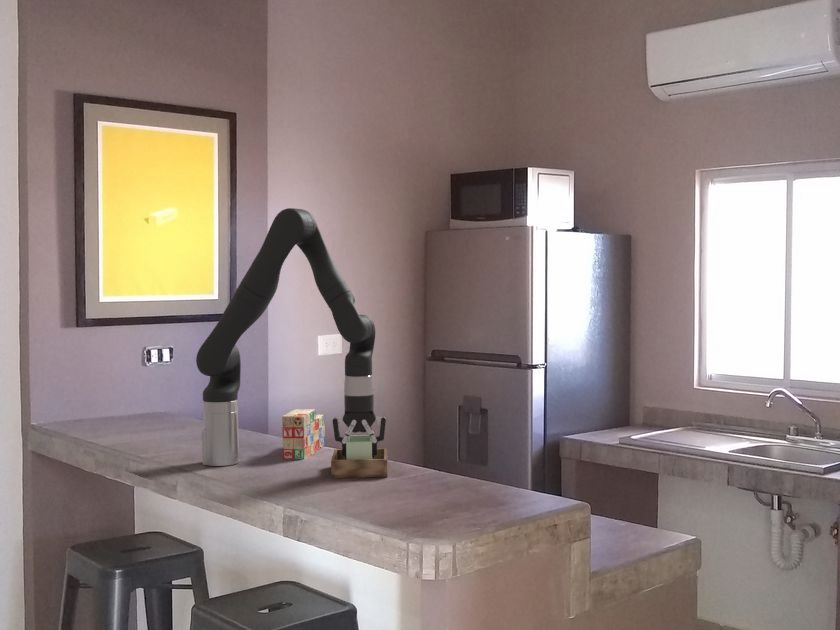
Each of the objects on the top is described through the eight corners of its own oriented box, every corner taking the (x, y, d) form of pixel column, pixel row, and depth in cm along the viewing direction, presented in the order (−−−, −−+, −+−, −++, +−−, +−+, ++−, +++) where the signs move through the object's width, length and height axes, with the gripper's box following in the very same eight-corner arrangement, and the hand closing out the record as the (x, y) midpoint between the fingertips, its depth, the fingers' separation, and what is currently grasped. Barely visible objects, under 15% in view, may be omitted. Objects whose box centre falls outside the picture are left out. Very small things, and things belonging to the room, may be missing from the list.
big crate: (331, 478, 238) (331, 460, 237) (334, 466, 252) (334, 449, 252) (387, 477, 238) (387, 459, 238) (387, 465, 253) (387, 448, 252)
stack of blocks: (305, 445, 283) (304, 404, 283) (325, 445, 282) (324, 404, 282) (282, 459, 262) (281, 415, 262) (304, 460, 261) (303, 415, 260)
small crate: (346, 466, 240) (346, 442, 239) (348, 458, 250) (347, 435, 249) (371, 465, 240) (371, 442, 240) (372, 457, 250) (372, 434, 250)
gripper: (329, 395, 240) (331, 460, 241) (386, 394, 240) (387, 459, 241) (331, 391, 247) (332, 454, 248) (386, 390, 248) (387, 453, 249)
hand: (359, 457), depth 245 cm, fingers closed on small crate, 6 cm apart
